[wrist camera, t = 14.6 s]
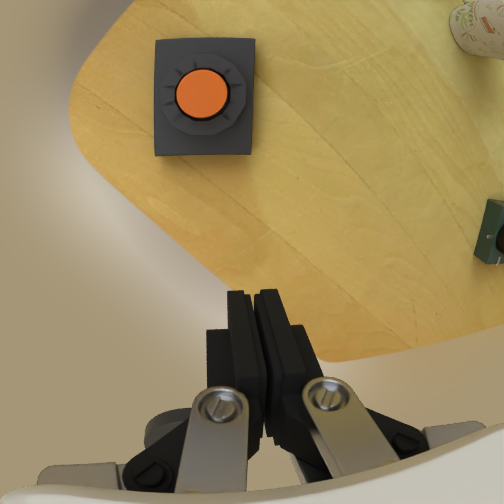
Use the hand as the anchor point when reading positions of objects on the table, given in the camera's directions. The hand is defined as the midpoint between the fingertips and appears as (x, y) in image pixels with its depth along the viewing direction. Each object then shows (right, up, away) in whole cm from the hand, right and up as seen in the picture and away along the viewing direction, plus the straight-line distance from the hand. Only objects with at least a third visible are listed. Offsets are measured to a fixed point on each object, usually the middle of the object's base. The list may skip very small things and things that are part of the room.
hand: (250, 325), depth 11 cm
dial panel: (+36, +6, +24) cm, 44 cm away
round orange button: (-4, +14, +11) cm, 18 cm away
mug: (+23, +29, +12) cm, 39 cm away
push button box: (-4, +16, +14) cm, 22 cm away
